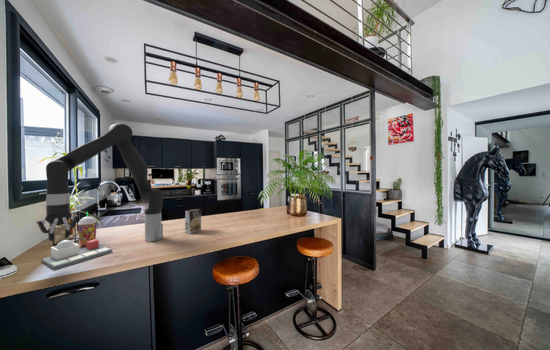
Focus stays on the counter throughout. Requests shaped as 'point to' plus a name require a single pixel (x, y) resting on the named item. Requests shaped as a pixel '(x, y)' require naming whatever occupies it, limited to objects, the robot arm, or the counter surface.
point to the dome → (64, 244)
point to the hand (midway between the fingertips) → (59, 239)
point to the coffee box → (192, 221)
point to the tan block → (59, 233)
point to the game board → (74, 254)
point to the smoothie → (87, 229)
